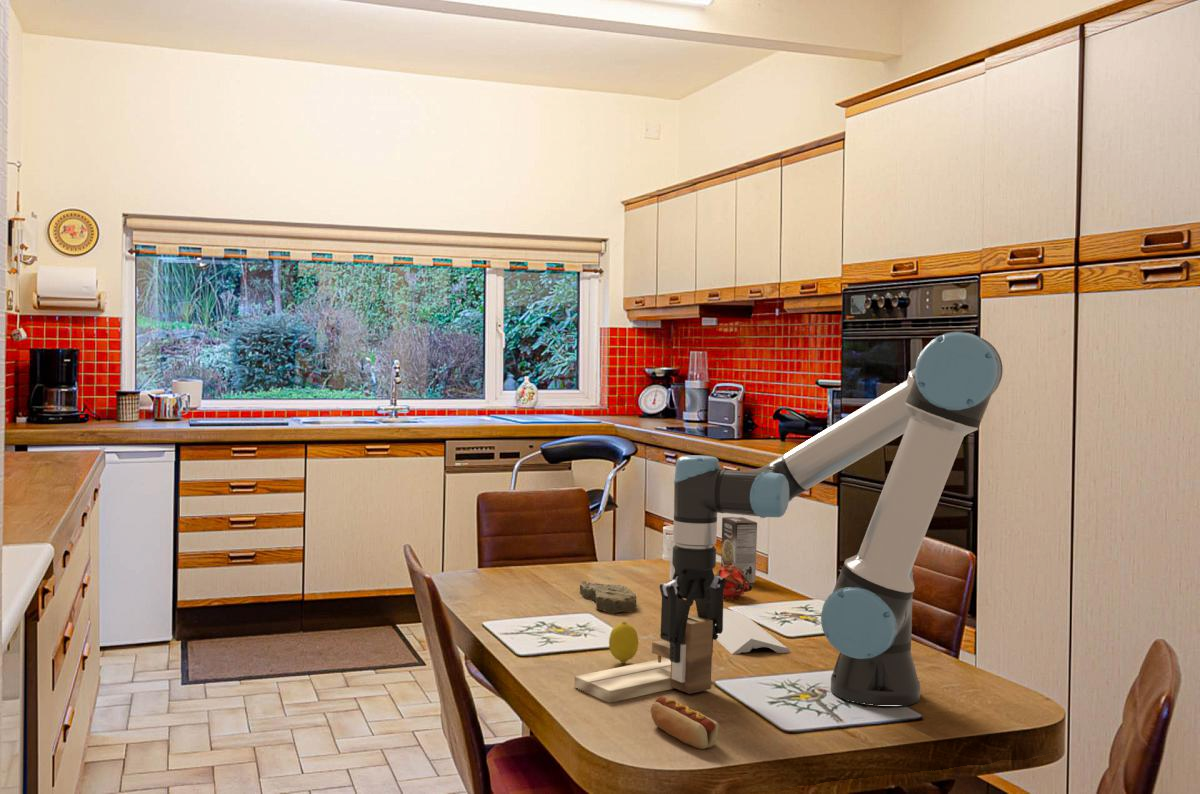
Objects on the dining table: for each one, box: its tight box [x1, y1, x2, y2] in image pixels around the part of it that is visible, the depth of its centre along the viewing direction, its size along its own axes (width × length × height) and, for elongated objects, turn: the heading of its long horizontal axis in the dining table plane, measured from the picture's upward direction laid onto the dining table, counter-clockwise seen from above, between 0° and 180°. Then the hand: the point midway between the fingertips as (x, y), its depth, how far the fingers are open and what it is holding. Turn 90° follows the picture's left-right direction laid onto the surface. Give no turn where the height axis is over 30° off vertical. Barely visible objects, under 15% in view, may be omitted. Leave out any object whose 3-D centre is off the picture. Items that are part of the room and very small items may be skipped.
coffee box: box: [720, 516, 758, 584], centre depth 280 cm, size 9×6×16 cm
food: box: [650, 696, 720, 750], centre depth 161 cm, size 14×6×5 cm, turn 31°
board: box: [574, 657, 674, 704], centre depth 187 cm, size 10×23×2 cm, turn 127°
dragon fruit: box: [714, 565, 753, 601], centre depth 259 cm, size 8×8×12 cm
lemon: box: [608, 620, 639, 664], centre depth 200 cm, size 6×6×8 cm
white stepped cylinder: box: [662, 525, 677, 581], centre depth 278 cm, size 7×7×15 cm
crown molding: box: [715, 607, 791, 655], centre depth 223 cm, size 29×12×4 cm, turn 10°
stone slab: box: [579, 580, 637, 614], centre depth 253 cm, size 27×12×5 cm, turn 19°
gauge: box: [651, 614, 713, 695], centre depth 187 cm, size 12×5×12 cm, turn 37°
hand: (690, 677), depth 184 cm, fingers closed on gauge, 5 cm apart
